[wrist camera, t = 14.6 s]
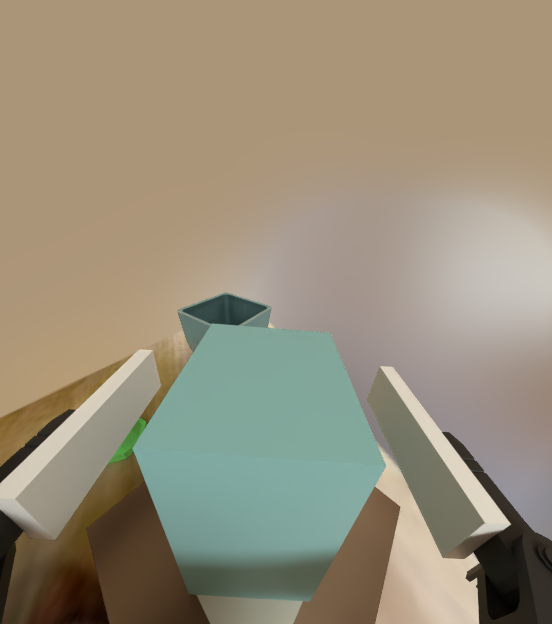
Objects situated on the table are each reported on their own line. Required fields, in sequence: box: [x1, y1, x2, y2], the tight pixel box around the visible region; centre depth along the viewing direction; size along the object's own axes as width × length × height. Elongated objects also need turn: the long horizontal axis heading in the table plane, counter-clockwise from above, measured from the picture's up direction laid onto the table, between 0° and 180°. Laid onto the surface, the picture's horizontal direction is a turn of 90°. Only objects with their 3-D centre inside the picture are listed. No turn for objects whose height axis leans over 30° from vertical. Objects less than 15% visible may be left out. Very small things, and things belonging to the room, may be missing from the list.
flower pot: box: [178, 293, 271, 352], centre depth 28 cm, size 9×9×9 cm
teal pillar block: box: [133, 324, 386, 602], centre depth 10 cm, size 6×6×12 cm
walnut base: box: [86, 482, 400, 624], centre depth 13 cm, size 14×14×3 cm
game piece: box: [108, 417, 147, 464], centre depth 18 cm, size 4×4×6 cm
